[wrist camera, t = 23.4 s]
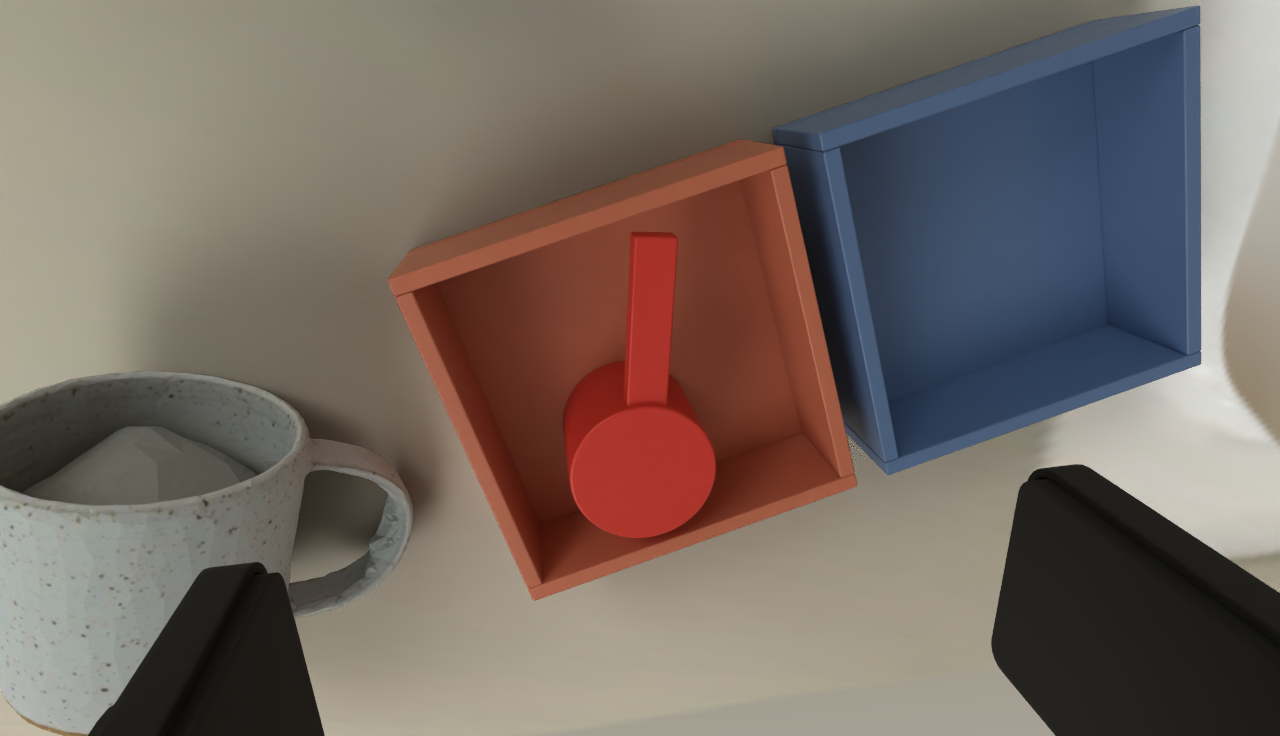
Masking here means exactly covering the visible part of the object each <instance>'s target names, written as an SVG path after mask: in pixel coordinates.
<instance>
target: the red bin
mask: <svg viewBox="0 0 1280 736" xmlns="http://www.w3.org/2000/svg"><path fill="white" fill-rule="evenodd" d="M786 163H787V161H786V157H785V152H784V148H783V146H777V145H771V144H766V143H760V142H754V141H749V140H743V139H739V140H736V141H733V142H730V143H727V144H724V145H721V146H718V147H715V148H712V149H709V150H706V151H703V152H700V153H697V154H694V155H691V156H689V157H686V158H683V159H680V160H677V161H674V162H671V163H668V164H665V165H662V166H659V167H656V168H653V169H650V170H647V171H644V172H641V173H638V174H635V175H632V176H629V177H626V178H623V179H620V180H617V181H614V182H611V183H608V184H605V185H602V186H599V187H596V188H593V189H591V190H588V191H585V192H582V193H579V194H576V195H573V196H570V197H567V198H564V199H561V200H558V201H555V202H552V203H549V204H546V205H543V206H540V207H537V208H534V209H531V210H528V211H525V212H522V213H519V214H516V215H513V216H510V217H507V218H504V219H501V220H498V221H495V222H493V223H490V224H487V225H484V226H481V227H478V228H475V229H472V230H469V231H466V232H463V233H460V234H457V235H454V236H451V237H448V238H445V239H442V240H439V241H436V242H433V243H430V244H427V245H424V246H421V247H418V248H415V249H412V250H410V251H409V252H408V254H407V255H406V256H405V258H404V259H403V260H402V262H401V263H400V264H399V266H398V267H397V268H396V269H395V271H394V272H393V273H392V275H391V276H390V277H389V279H388V283H389V286H390V288H391V290H392V292H393V294H394V296H396V301H397V303H398V305H399V308H400V310H401V312H402V314H403V316H404V318H405V321H406V323H407V325H408V327H409V329H410V332H411V334H412V336H413V338H414V340H415V343H416V345H417V347H418V349H419V351H420V354H421V356H422V358H423V360H424V362H425V365H426V367H427V369H428V371H429V373H430V375H431V378H432V380H433V382H434V384H435V386H436V389H437V391H438V393H439V395H440V397H441V400H442V402H443V404H444V406H445V408H446V411H447V413H448V415H449V417H450V419H451V422H452V424H453V426H454V428H455V430H456V432H457V435H458V437H459V439H460V441H461V443H462V446H463V448H464V450H465V452H466V454H467V457H468V459H469V461H470V463H471V465H472V468H473V470H474V472H475V474H476V476H477V478H478V481H479V483H480V485H481V487H482V489H483V492H484V494H485V496H486V498H487V500H488V503H489V505H490V507H491V509H492V511H493V514H494V516H495V518H496V520H497V522H498V525H499V527H500V529H501V531H502V533H503V535H504V538H505V540H506V542H507V544H508V546H509V549H510V551H511V553H512V555H513V557H514V560H515V562H516V564H517V566H518V568H519V571H520V573H521V575H522V577H523V579H524V582H525V584H526V586H527V588H528V590H529V592H530V595H531V597H532V599H533V600H534V601H535V600H538V599H541V598H544V597H546V596H549V595H552V594H555V593H558V592H560V591H563V590H566V589H569V588H572V587H575V586H577V585H580V584H583V583H586V582H589V581H591V580H594V579H597V578H600V577H603V576H606V575H608V574H611V573H614V572H617V571H620V570H622V569H625V568H628V567H631V566H634V565H637V564H639V563H642V562H645V561H648V560H651V559H653V558H656V557H659V556H662V555H665V554H668V553H670V552H673V551H676V550H679V549H682V548H684V547H687V546H690V545H693V544H696V543H699V542H701V541H704V540H707V539H710V538H713V537H715V536H718V535H721V534H724V533H727V532H730V531H732V530H735V529H738V528H741V527H744V526H746V525H749V524H752V523H755V522H758V521H761V520H763V519H766V518H769V517H772V516H775V515H777V514H780V513H783V512H786V511H789V510H792V509H794V508H797V507H800V506H803V505H806V504H808V503H811V502H814V501H817V500H820V499H823V498H825V497H828V496H831V495H834V494H837V493H839V492H842V491H845V490H848V489H851V488H854V487H856V486H857V481H856V476H855V474H854V467H853V462H852V458H851V453H850V449H849V444H848V440H847V435H846V430H845V426H844V421H843V417H842V412H841V408H840V403H839V398H838V394H837V389H836V385H835V380H834V376H833V371H832V367H831V362H830V357H829V353H828V348H827V344H826V339H825V335H824V330H823V325H822V321H821V316H820V312H819V307H818V303H817V298H816V294H815V289H814V284H813V280H812V275H811V271H810V266H809V262H808V257H807V252H806V248H805V243H804V239H803V234H802V230H801V225H800V221H799V216H798V211H797V207H796V202H795V198H794V193H793V189H792V184H791V179H790V175H789V170H788V166H787V165H785V164H786ZM632 232H671V233H673V234H674V235H675V236H677V237H678V252H677V267H676V282H675V296H674V311H673V326H672V341H671V355H670V370H669V375H671V376H672V377H673V378H674V379H675V380H676V381H677V383H678V384H679V385H680V387H681V388H682V390H683V392H684V393H685V395H686V397H687V399H688V401H689V402H690V404H691V406H692V408H693V410H694V412H695V413H696V415H697V417H698V419H699V421H700V422H701V424H702V426H703V428H704V430H705V431H706V433H707V435H708V437H709V439H710V441H711V443H712V446H713V448H714V452H715V457H716V475H715V481H714V484H713V487H712V490H711V492H710V494H709V496H708V498H707V500H706V501H705V503H704V505H703V506H702V507H701V508H700V510H699V511H698V512H697V513H696V514H695V515H694V516H693V517H692V518H691V519H689V520H688V521H687V522H685V523H684V524H683V525H681V526H679V527H678V528H676V529H674V530H671V531H669V532H667V533H664V534H661V535H657V536H653V537H646V538H628V537H622V536H618V535H614V534H611V533H609V532H606V531H604V530H602V529H601V528H599V527H597V526H596V525H594V524H593V523H592V522H590V521H589V520H588V519H587V518H586V517H585V516H584V515H583V513H582V512H581V511H580V509H579V508H578V506H577V504H576V502H575V501H574V498H573V495H572V492H571V487H570V481H569V473H568V465H567V456H566V448H565V440H564V432H563V414H564V410H565V406H566V403H567V401H568V398H569V397H570V395H571V393H572V391H573V390H574V389H575V387H576V386H577V385H578V384H579V383H580V382H581V380H582V379H584V378H585V377H586V376H587V375H588V374H590V373H591V372H593V371H595V370H596V369H598V368H600V367H603V366H605V365H608V364H611V363H615V362H620V361H625V348H626V326H627V304H628V282H629V260H630V238H631V233H632Z"/></svg>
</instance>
